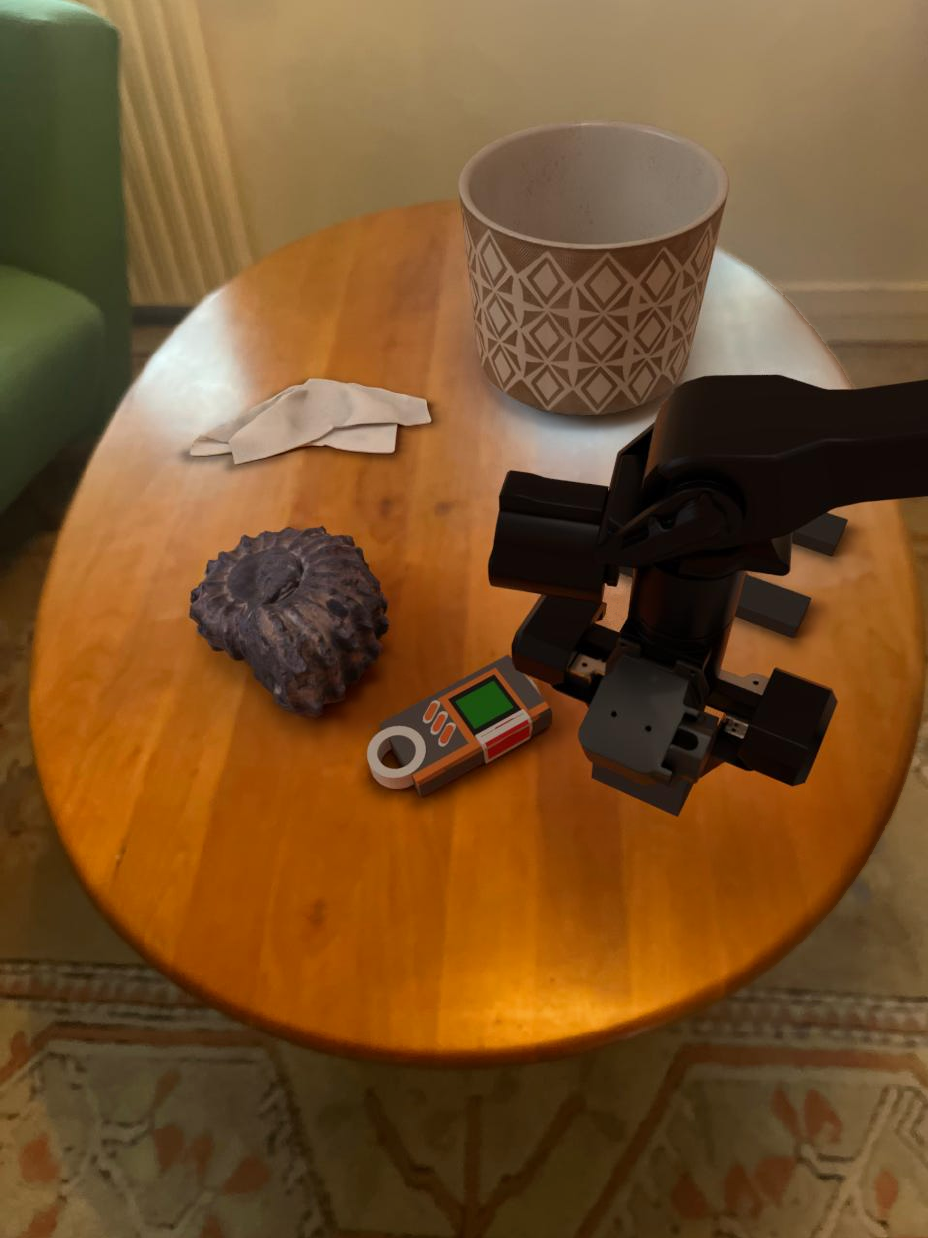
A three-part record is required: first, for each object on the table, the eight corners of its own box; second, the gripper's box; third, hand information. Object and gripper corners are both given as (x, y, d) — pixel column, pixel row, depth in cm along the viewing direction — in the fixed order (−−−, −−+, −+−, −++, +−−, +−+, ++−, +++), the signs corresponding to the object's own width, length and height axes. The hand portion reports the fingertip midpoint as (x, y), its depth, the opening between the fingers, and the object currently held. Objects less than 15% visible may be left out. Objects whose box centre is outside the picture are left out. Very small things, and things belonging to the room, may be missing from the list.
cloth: (431, 376, 109) (429, 359, 108) (431, 455, 101) (429, 438, 99) (206, 388, 110) (201, 371, 108) (187, 467, 101) (181, 451, 99)
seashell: (331, 769, 78) (449, 632, 77) (208, 705, 70) (338, 552, 69) (265, 651, 93) (363, 535, 92) (157, 587, 85) (263, 459, 84)
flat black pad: (844, 530, 91) (848, 519, 90) (793, 638, 83) (797, 627, 82) (649, 465, 98) (651, 454, 97) (585, 559, 90) (586, 548, 89)
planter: (451, 432, 103) (437, 241, 86) (485, 299, 119) (479, 116, 102) (696, 449, 99) (732, 252, 82) (697, 309, 116) (727, 121, 99)
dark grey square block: (711, 746, 65) (719, 717, 63) (677, 817, 62) (684, 790, 59) (628, 710, 67) (632, 681, 65) (590, 778, 64) (593, 750, 61)
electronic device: (352, 735, 76) (511, 649, 79) (358, 753, 78) (513, 669, 82) (391, 799, 72) (556, 706, 76) (396, 817, 74) (557, 726, 78)
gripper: (460, 639, 51) (473, 787, 63) (808, 785, 44) (748, 919, 56) (554, 510, 57) (549, 667, 69) (872, 621, 50) (805, 773, 62)
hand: (653, 751), depth 64 cm, fingers closed on dark grey square block, 6 cm apart
